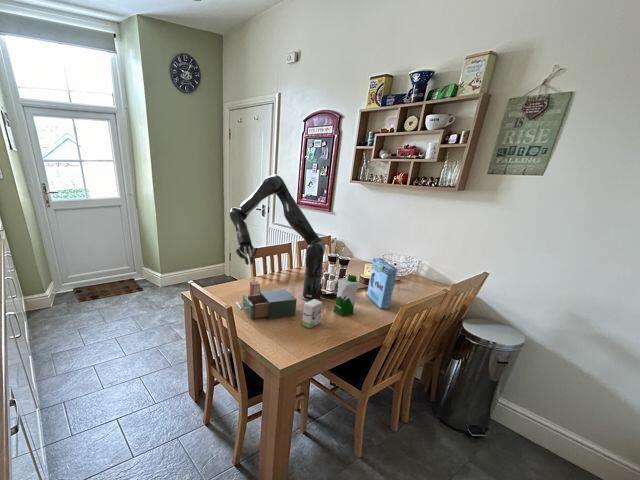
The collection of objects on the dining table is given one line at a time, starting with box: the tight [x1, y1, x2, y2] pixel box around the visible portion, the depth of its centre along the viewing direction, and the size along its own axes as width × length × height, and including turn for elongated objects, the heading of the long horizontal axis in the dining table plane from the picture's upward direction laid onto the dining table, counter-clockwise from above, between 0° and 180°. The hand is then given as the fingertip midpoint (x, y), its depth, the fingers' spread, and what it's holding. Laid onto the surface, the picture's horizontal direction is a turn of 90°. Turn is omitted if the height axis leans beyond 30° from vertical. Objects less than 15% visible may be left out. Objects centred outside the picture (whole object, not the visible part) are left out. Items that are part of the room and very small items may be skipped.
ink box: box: [301, 299, 323, 329], centre depth 158 cm, size 9×5×12 cm, turn 132°
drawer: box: [235, 294, 269, 321], centre depth 167 cm, size 18×13×8 cm
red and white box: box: [249, 280, 261, 296], centre depth 184 cm, size 4×5×10 cm
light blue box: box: [366, 257, 398, 310], centre depth 182 cm, size 20×5×23 cm, turn 2°
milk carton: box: [333, 274, 360, 317], centre depth 169 cm, size 9×9×20 cm
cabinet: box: [260, 288, 298, 320], centre depth 171 cm, size 15×14×10 cm
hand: (249, 264), depth 187 cm, fingers closed
